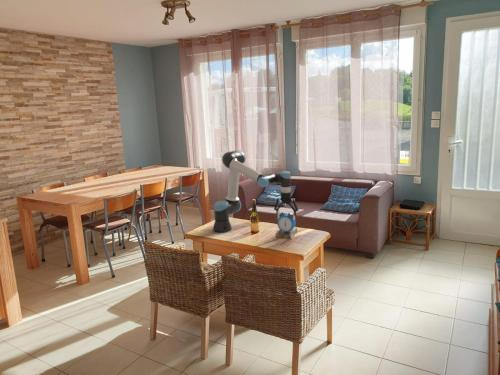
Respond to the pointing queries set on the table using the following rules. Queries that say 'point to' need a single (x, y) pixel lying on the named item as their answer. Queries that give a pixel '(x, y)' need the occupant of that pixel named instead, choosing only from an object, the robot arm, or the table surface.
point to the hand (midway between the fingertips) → (286, 219)
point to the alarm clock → (286, 222)
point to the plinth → (286, 234)
